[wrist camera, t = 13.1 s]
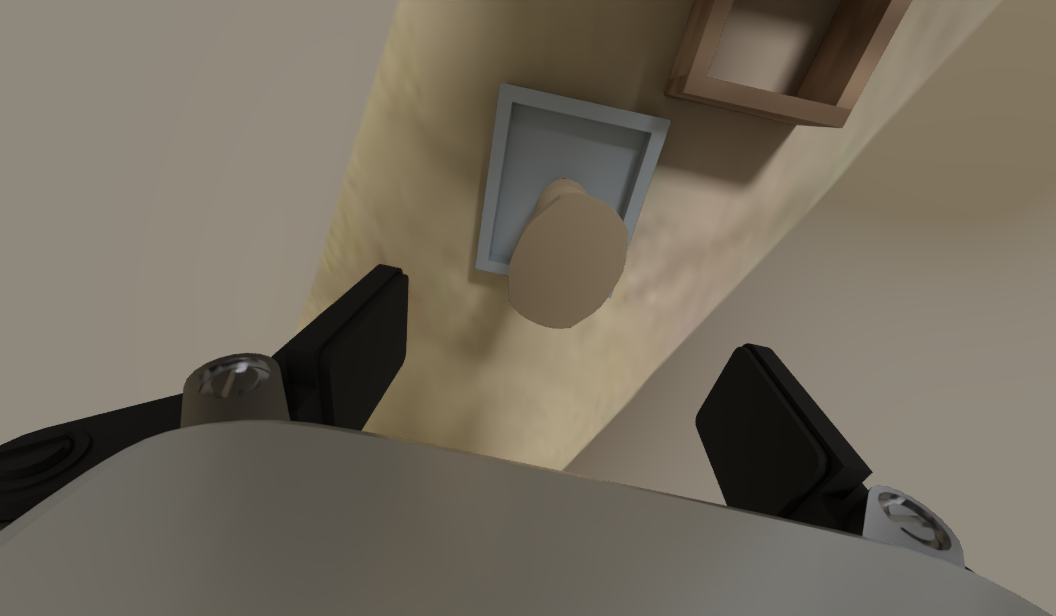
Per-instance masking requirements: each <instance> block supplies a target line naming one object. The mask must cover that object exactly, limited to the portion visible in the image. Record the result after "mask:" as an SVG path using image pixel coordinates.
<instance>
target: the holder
mask: <svg viewBox="0 0 1056 616" xmlns="http://www.w3.org/2000/svg"><path fill="white" fill-rule="evenodd" d="M911 1H912V0H842V1H841V3H840V5H839V7H838V9H837V11H836V13H835V16H834V18H833V20H832V22H831V24H830V26H829V28H828V30H827V32H826V35H825V37H824V39H823V41H822V43H821V45H820V47H819V49H818V51H817V53H816V56H815V58H814V60H813V62H812V64H811V66H810V68H809V70H808V72H807V75H806V77H805V79H804V81H803V83H802V85H801V87H800V89H799V91H798V93H797V96H796V97H793V96H788V95H784V94H779V93H775V92H770V91H766V90H761V89H757V88H753V87H748V86H744V85H739V84H735V83H730V82H726V81H721V80H717V79H713V78H708V77H706V76H707V73H708V70H709V68H710V65H711V62H712V59H713V57H714V54H715V51H716V48H717V46H718V43H719V40H720V37H721V35H722V32H723V29H724V26H725V24H726V21H727V18H728V15H729V13H730V10H731V7H732V4H733V2H734V0H694V4H693V7H692V10H691V13H690V16H689V19H688V22H687V25H686V28H685V31H684V34H683V38H682V41H681V44H680V47H679V50H678V53H677V56H676V59H675V62H674V65H673V68H672V72H671V75H670V78H669V81H668V84H667V87H666V90H665V93H664V95H665V96H670V97H674V98H678V99H683V100H687V101H692V102H696V103H701V104H705V105H710V106H714V107H719V108H723V109H728V110H732V111H737V112H741V113H745V114H750V115H754V116H759V117H763V118H768V119H772V120H777V121H781V122H786V123H790V124H795V125H803V126H818V127H833V128H843V126H844V124H845V122H846V120H847V118H848V117H849V115H850V113H851V111H852V109H853V107H854V106H855V104H856V102H857V100H858V98H859V97H860V95H861V93H862V91H863V89H864V87H865V86H866V84H867V82H868V80H869V78H870V76H871V75H872V73H873V71H874V69H875V67H876V65H877V64H878V62H879V60H880V58H881V56H882V54H883V53H884V51H885V49H886V47H887V45H888V44H889V42H890V40H891V38H892V36H893V34H894V33H895V31H896V29H897V27H898V25H899V23H900V22H901V20H902V18H903V16H904V14H905V12H906V11H907V9H908V7H909V5H910V3H911Z"/></svg>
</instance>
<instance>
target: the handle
mask: <svg viewBox="0 0 1056 616" xmlns="http://www.w3.org/2000/svg"><path fill="white" fill-rule="evenodd" d="M628 233H629V232H628V230H627V228H626V226H625V224H624V222H623V221H622V219H621V218H620V216H619V215H618V213H617V212H616V211H615V210H614V209H612V208H611V207H610V206H609V205H608V204H606V203H604V202H603V201H601V200H599V199H597V198H595V197H592V196H590V195H588V194H587V192H586V191H585V189H584V188H583V187H582V186H581V185H580V184H579V183H577V182H575V181H573V180H569V179H567V177H560V178H559V180H556V181H554V182H552V183H551V184H549V185H548V186H546V188H545V189H544V191H543V192H542V194H541V196H540V198H539V200H538V203H537V206H536V210H535V215H534V216H533V217H532V218H531V219H530V220H529V221H528V222H527V224H526V225H525V227H524V229H523V231H522V233H521V236H520V238H519V240H518V242H517V244H516V247H515V249H514V251H513V254H512V256H511V260H510V264H509V273H508V284H509V301H510V303H511V304H512V306H513V307H514V308H515V309H516V310H517V311H518V313H520V314H521V315H522V316H524V317H525V318H526V319H528V320H530V321H532V322H534V323H536V324H539V325H542V326H545V327H550V328H559V329H563V328H571V327H572V326H574V325H575V324H577V323H579V322H580V321H582V320H583V319H585V318H586V317H588V316H589V315H591V314H592V313H594V312H595V311H596V310H597V309H598V308H600V307H601V306H602V304H603V303H604V302H605V301H606V299H607V298H608V296H609V295H610V293H611V292H612V290H613V288H614V287H615V285H616V284H617V282H618V280H619V278H620V276H621V274H622V272H623V269H624V265H625V260H626V252H627V243H628Z"/></svg>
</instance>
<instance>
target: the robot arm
mask: <svg viewBox="0 0 1056 616" xmlns="http://www.w3.org/2000/svg"><path fill="white" fill-rule="evenodd" d="M408 283H409V279H408V276H407V275H405V274H403V272H402V269H401V268H397V267H392V266H387V265H383V264H379V265H377V266H376V267H375V268H374V269H373V270H372V271H370V272H369V273H368V274H367V275H366V276H365V277H364V278H362V279H361V280H360V281H359V282H358V283H357V284H355V285H354V286H353V287H352V288H351V289H350V290H349V291H347V292H346V293H345V294H344V295H343V296H342V297H340V298H339V299H338V300H337V301H336V302H335V303H334V304H332V305H331V306H329V307H328V308H327V309H326V310H325V311H324V312H323V313H321V314H320V315H319V316H318V317H317V318H316V319H314V320H313V321H312V322H311V323H310V324H309V325H307V326H306V327H305V328H304V329H303V330H302V331H301V332H299V333H298V334H297V335H296V336H295V337H294V338H292V339H291V340H290V341H289V342H288V343H287V344H285V345H284V346H283V347H282V348H281V349H280V350H279V351H277V352H276V353H275V354H274V355H273V356H272V357H269V356H266V355H262V354H256V353H242V354H232V355H229V356H225V357H221V358H218V359H215V360H213V361H210V362H208V363H206V364H204V365H203V366H201V367H199V368H198V369H196V370H195V371H194V372H193V373H192V374H191V375H190V376H189V377H188V378H187V379H186V382H185V385H184V389H183V393H182V394H178V395H174V396H170V397H166V398H163V399H158V400H154V401H150V402H146V403H143V404H138V405H135V406H130V407H126V408H122V409H119V410H115V411H111V412H107V413H103V414H99V415H95V416H91V417H87V418H83V419H79V420H75V421H71V422H67V423H64V424H59V425H55V426H51V427H47V428H44V429H41V430H38V431H34V432H31V433H28V434H25V435H22V436H20V437H18V438H16V439H13V440H11V441H9V442H7V443H4V444H2V445H0V616H1052V615H1050V614H1049V613H1047V612H1046V611H1044V610H1042V609H1041V608H1039V607H1038V606H1036V605H1034V604H1033V603H1031V602H1029V601H1028V600H1026V599H1024V598H1022V597H1021V596H1019V595H1017V594H1016V593H1014V592H1011V591H1010V590H1008V589H1006V588H1004V587H1002V586H1000V585H998V584H996V583H994V582H992V581H990V580H988V579H986V578H984V577H982V576H980V575H978V574H976V573H975V572H973V571H972V570H970V569H969V568H967V567H966V566H965V564H964V556H963V550H962V547H961V544H960V542H959V540H958V538H957V537H956V536H955V534H954V533H953V532H952V530H951V529H950V528H949V527H948V526H947V525H946V524H945V523H944V522H943V521H942V519H940V518H939V517H938V516H937V515H936V514H935V513H933V512H932V511H931V510H930V509H929V508H927V507H926V506H925V505H923V504H922V503H920V502H918V501H917V500H915V499H914V498H912V497H911V496H909V495H907V494H905V493H903V492H901V491H899V490H896V489H893V488H891V487H888V486H880V485H877V486H874V487H871V488H870V489H869V490H867V488H866V487H865V486H864V485H863V483H862V482H863V481H864V480H865V479H866V478H867V477H868V476H869V475H870V474H871V473H873V472H872V471H871V470H870V469H869V467H868V466H867V465H866V464H865V462H864V461H863V460H862V459H861V458H860V456H859V455H858V454H857V453H856V452H855V450H854V449H853V448H852V446H851V445H850V444H849V443H848V442H847V441H846V439H845V438H844V437H843V436H842V434H841V433H840V432H839V431H838V429H837V428H836V427H835V426H834V425H833V423H832V422H831V421H830V420H829V419H828V417H827V416H826V415H825V414H824V412H823V411H822V410H821V409H820V408H819V406H818V405H817V404H816V403H815V401H814V400H813V399H812V398H811V397H810V395H809V394H808V393H807V392H806V391H805V389H804V388H803V387H802V386H801V384H800V383H799V382H798V381H797V380H796V378H795V377H794V376H793V375H792V373H790V371H789V370H788V369H787V367H786V366H785V365H784V364H783V363H782V361H781V360H780V359H779V358H778V356H777V355H776V354H775V353H774V352H773V350H771V349H770V348H768V347H763V346H759V345H754V344H749V343H747V344H744V345H743V346H742V347H738V348H736V349H735V351H734V352H733V354H732V356H731V357H730V359H729V361H728V362H727V364H726V366H725V367H724V369H723V371H722V373H721V374H720V376H719V378H718V379H717V381H716V383H715V384H714V386H713V388H712V390H711V391H710V393H709V395H708V397H707V398H706V400H705V402H704V403H703V405H702V407H701V408H700V410H699V412H698V414H697V416H696V428H697V430H698V433H699V435H700V438H701V441H702V442H703V446H704V448H705V451H706V453H707V456H708V458H709V461H710V463H711V466H712V468H713V471H714V474H715V476H716V478H717V481H718V484H719V486H720V488H721V491H722V494H723V496H724V499H725V501H726V504H727V506H724V505H720V504H715V503H711V502H706V501H701V500H697V499H692V498H687V497H683V496H678V495H673V494H669V493H664V492H659V491H654V490H650V489H645V488H640V487H636V486H631V485H626V484H621V483H616V482H611V481H607V480H602V479H597V478H593V477H587V476H583V475H577V474H573V473H568V472H564V471H559V470H554V469H549V468H545V467H540V466H535V465H530V464H525V463H520V462H515V461H510V460H506V459H501V458H496V457H491V456H486V455H481V454H476V453H471V452H466V451H461V450H456V449H451V448H447V447H442V446H437V445H432V444H427V443H422V442H417V441H412V440H407V439H402V438H397V437H391V436H386V435H381V434H376V433H371V432H365V431H361V430H362V429H363V427H364V425H365V424H366V422H367V421H368V419H369V417H370V416H371V414H372V413H373V411H374V409H375V408H376V406H377V405H378V403H379V401H380V400H381V398H382V397H383V395H384V393H385V392H386V390H387V389H388V387H389V385H390V384H391V382H392V381H393V379H394V378H395V376H396V374H397V373H398V371H399V370H400V368H401V366H402V365H403V363H404V360H405V356H406V342H407V313H408Z"/></svg>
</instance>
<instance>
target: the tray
mask: <svg viewBox="0 0 1056 616" xmlns="http://www.w3.org/2000/svg"><path fill="white" fill-rule="evenodd" d="M670 123H671V120H668V119H663V118H659V117H654V116H650V115H645V114H641V113H636V112H632V111H627V110H623V109H618V108H614V107H609V106H605V105H600V104H596V103H591V102H587V101H582V100H578V99H573V98H569V97H564V96H560V95H556V94H551V93H547V92H542V91H538V90H533V89H529V88H524V87H520V86H515V85H511V84H506V83H502V82H500V87H499V94H498V102H497V109H496V117H495V124H494V132H493V139H492V146H491V154H490V161H489V169H488V176H487V183H486V191H485V198H484V206H483V213H482V221H481V228H480V235H479V243H478V250H477V258H476V265H475V269H478V270H483V271H487V272H492V273H497V274H501V275H506V276H508V273H509V264H510V260H511V256H512V254H513V251H514V249H515V247H516V244H517V242H518V240H519V238H520V236H521V233H522V231H523V229H524V227H525V225H526V224H527V222H528V221H529V220H530V219H531V218H532V217H533V216H534V215H535V210H536V206H537V203H538V200H539V198H540V196H541V194H542V192H543V191H544V189H545V188H546V186H548V185H549V184H551V183H552V182H554V181H556V180H559V178H560V177H567V179H569V180H573V181H575V182H577V183H579V184H580V185H581V186H582V187H583V188H584V189H585V191H586V192H587V194H588V195H590V196H592V197H595V198H597V199H599V200H601V201H603V202H604V203H606V204H608V205H609V206H610V207H611V208H612V209H614V210H615V211H616V212H617V213H618V215H619V216H620V218H621V219H622V221H623V222H624V224H625V226H626V228H627V230H628V232H629V233H628V243H627V249H628V246H629V243H630V240H631V237H632V234H633V231H634V229H635V226H636V223H637V220H638V217H639V214H640V211H641V208H642V205H643V202H644V199H645V196H646V193H647V191H648V188H649V185H650V182H651V179H652V176H653V173H654V170H655V167H656V164H657V161H658V158H659V155H660V152H661V150H662V147H663V144H664V141H665V138H666V135H667V132H668V129H669V126H670ZM613 290H614V288H613ZM613 290H612V292H611V293H610V295H609V296H608V298H611V296H612V293H613Z"/></svg>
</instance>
